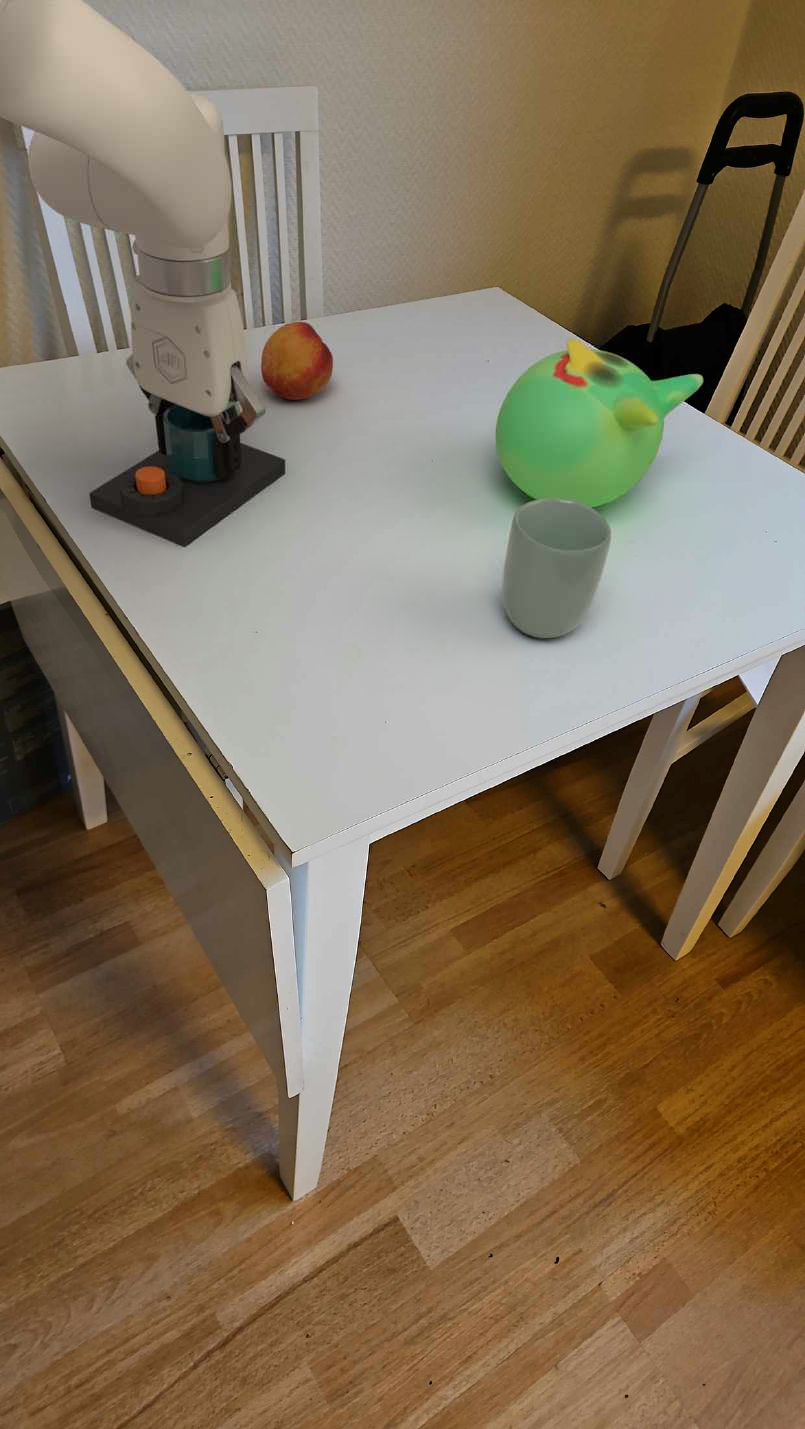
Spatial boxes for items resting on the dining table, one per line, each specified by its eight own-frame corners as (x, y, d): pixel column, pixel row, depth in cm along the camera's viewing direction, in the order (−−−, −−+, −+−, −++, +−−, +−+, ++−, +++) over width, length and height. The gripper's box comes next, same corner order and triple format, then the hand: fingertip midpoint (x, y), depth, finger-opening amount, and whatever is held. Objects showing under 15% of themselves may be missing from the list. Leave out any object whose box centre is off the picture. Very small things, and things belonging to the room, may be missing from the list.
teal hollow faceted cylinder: (170, 487, 90) (164, 433, 86) (166, 453, 95) (161, 401, 91) (236, 484, 92) (233, 431, 88) (230, 451, 96) (227, 399, 92)
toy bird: (529, 433, 107) (554, 300, 96) (674, 480, 102) (716, 345, 92) (459, 505, 95) (479, 362, 85) (619, 562, 90) (661, 417, 80)
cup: (553, 587, 86) (576, 490, 79) (602, 639, 82) (631, 540, 75) (479, 605, 84) (496, 506, 77) (525, 660, 79) (547, 560, 72)
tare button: (153, 499, 86) (151, 484, 85) (131, 490, 87) (129, 475, 86) (172, 487, 88) (170, 472, 87) (150, 478, 89) (148, 463, 88)
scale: (183, 548, 86) (180, 518, 84) (89, 508, 90) (84, 478, 87) (285, 473, 97) (285, 444, 94) (198, 440, 100) (196, 411, 98)
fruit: (336, 412, 107) (338, 341, 101) (263, 412, 106) (261, 340, 100) (329, 380, 112) (331, 311, 107) (260, 379, 111) (258, 310, 105)
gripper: (76, 253, 80) (106, 446, 93) (236, 310, 75) (245, 508, 87) (139, 231, 85) (159, 418, 98) (295, 284, 79) (295, 475, 92)
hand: (200, 459), depth 92 cm, fingers closed on teal hollow faceted cylinder, 6 cm apart
